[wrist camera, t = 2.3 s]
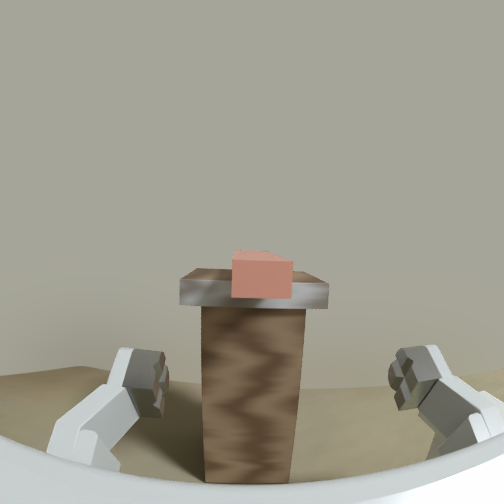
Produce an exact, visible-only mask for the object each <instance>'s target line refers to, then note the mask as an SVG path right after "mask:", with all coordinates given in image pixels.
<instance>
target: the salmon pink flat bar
mask: <svg viewBox="0 0 504 504" xmlns="http://www.w3.org/2000/svg"><path fill="white" fill-rule="evenodd" d="M292 276H293V261H290V260H287V259H285V258H282V257H280V256H277V255H274V254H271V253H269V252H266V251H242V250H236V252H235V255H234V257H233V259H232V290H231V297H233V298H268V299H291V296H292Z"/></svg>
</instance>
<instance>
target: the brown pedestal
mask: <svg viewBox="0 0 504 504" xmlns="http://www.w3.org/2000/svg"><path fill="white" fill-rule="evenodd" d="M231 290H232V270H228V269H200V268H197V269H195V270H194V271H192V272H191V273H189V274H188V275H186V276H185V277H183V278H182V279H180V305H190V306H201V367H202V369H201V372H202V417H203V444H204V465H205V482H211V483H235V484H268V483H288V482H289V475H290V468H291V460H292V453H293V445H294V436H295V428H296V419H297V410H298V400H299V390H300V380H301V368H302V357H303V344H304V330H305V316H306V309H327V308H328V294H329V284H328V283H326V282H324V281H322V280H320V279H318V278H316V277H314V276H311V275H309V274H307V273H305V272H295V271H293V276H292V296H291V299H268V298H233V297H231Z"/></svg>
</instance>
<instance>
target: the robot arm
mask: <svg viewBox="0 0 504 504" xmlns="http://www.w3.org/2000/svg"><path fill="white" fill-rule="evenodd" d="M396 358H397V359H396V360H395V361H394V362H393V363H392V364H391V365H390V368H389V371H388V380H389V384H390V387H391V388H392V389H394V390H395V391H396V392H395V395H394V399H395V401H396V404H397V407H398V410H399V411H401V410H408V409H414V408H418V410H419V411H420V412H421V413H422V414H423V415H424V416H425V417H426V418H427V419H428V420H429V421H430V422H431V423H432V424H433V425H434V426H435V427H436V428H437V429H438V430H439V431H440V432H441V433H442V434H443V435H444V436H445V437H446V438H447V439H446V440H445V441H444V442H443V443H442V444H441V445H440V446H439V448H438V451H439V454H440V456H439V457H436V458H432V459H429V460H425V461H422V462H418V463H415V464H411V465H407V466H403V467H399V468H394V469H390V470H385V471H381V472H376V473H371V474H365V475H359V476H353V477H347V478H340V479H333V480H325V481H315V482H305V483H292V484H272V485H225V484H205V483H192V482H181V481H172V480H164V479H157V478H150V477H143V476H137V475H132V474H126V473H121V472H119V470H120V462H119V461H118V460H117V458H116V457H115V456H114V455H113V454H112V452H111V451H110V450H111V449H112V447H113V446H114V445H115V444H116V443H117V442H118V441H119V440H120V439H121V438H122V437H123V435H124V434H125V433H126V432H127V431H128V430H129V429H130V428H131V427H132V425H133V424H134V423H135V422H136V421H137V420H138V419H139V416H140V417H150V418H161V419H163V415H164V410H165V404H166V402H165V399H164V395H165V394H166V393H167V392H168V387H169V371H168V367H167V366H166V365H165V359H166V358H165V355H164V352H159V351H150V350H141V349H133V348H124V347H123V348H122V347H121V348H120V349H119V350H118V352H117V355H116V358H115V360H114V363H113V366H112V369H111V372H110V375H109V378H108V381H107V384H102V385H101V386H99V387H98V388H97V389H96V390H94V391H93V392H92V393H91V394H90V395H88V396H87V397H86V398H85V399H83V400H82V401H81V402H80V403H78V404H77V405H76V406H75V407H73V408H72V409H71V410H70V411H68V412H67V413H66V414H65V415H63V416H62V417H61V418H60V419H59V420H57V421H56V424H55V427H54V430H53V433H52V436H51V439H50V442H49V445H48V448H47V451H46V452H43V451H40V450H37V449H34V448H32V447H29V446H26V445H24V444H21V443H18V442H16V441H13V440H11V439H8V438H6V437H4V436H1V435H0V504H504V422H503V419H502V417H501V415H500V413H499V411H498V409H497V406H496V405H495V404H493V403H492V402H491V401H489V400H488V399H487V398H485V397H484V396H483V395H481V394H480V393H479V392H477V391H476V390H474V389H473V388H472V387H470V386H469V385H468V384H466V383H465V382H464V381H462V380H461V379H459V378H458V377H457V376H452V374H451V372H450V370H449V368H448V366H447V364H446V362H445V360H444V358H443V356H442V354H441V352H440V350H439V348H438V347H437V346H436V345H434V344H433V345H425V346H416V347H408V348H401V349H399V350H398V351H397V353H396Z"/></svg>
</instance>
